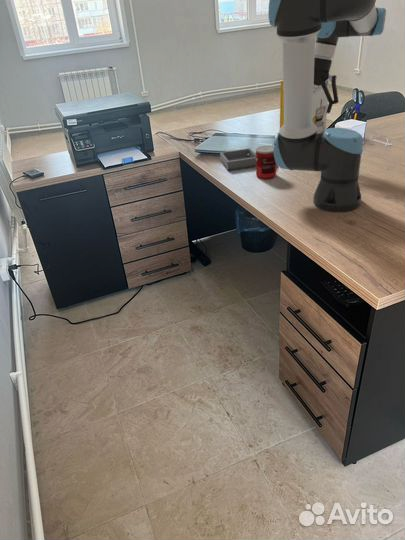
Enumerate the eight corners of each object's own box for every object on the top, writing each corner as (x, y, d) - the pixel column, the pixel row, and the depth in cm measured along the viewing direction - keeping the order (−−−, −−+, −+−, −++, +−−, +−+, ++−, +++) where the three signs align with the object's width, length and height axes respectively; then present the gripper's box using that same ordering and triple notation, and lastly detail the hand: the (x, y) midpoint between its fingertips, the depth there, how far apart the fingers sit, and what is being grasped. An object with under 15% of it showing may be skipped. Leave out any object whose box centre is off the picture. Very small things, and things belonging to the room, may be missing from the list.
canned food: (264, 171, 163) (264, 144, 157) (280, 175, 158) (280, 147, 152) (252, 177, 159) (251, 149, 153) (268, 181, 154) (268, 153, 148)
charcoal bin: (259, 166, 168) (259, 157, 166) (228, 171, 166) (227, 162, 164) (250, 157, 179) (249, 148, 177) (220, 161, 178) (220, 152, 175)
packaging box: (305, 138, 194) (308, 83, 181) (279, 134, 205) (280, 81, 191) (325, 130, 203) (329, 77, 189) (299, 126, 213) (301, 75, 199)
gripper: (357, 63, 147) (338, 123, 158) (292, 52, 154) (278, 109, 165) (355, 63, 141) (336, 125, 152) (287, 51, 148) (273, 111, 159)
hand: (306, 117), depth 158 cm, fingers open, 13 cm apart
